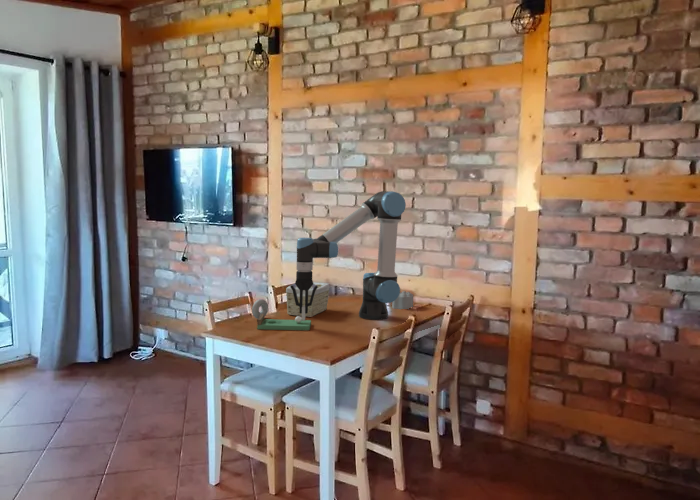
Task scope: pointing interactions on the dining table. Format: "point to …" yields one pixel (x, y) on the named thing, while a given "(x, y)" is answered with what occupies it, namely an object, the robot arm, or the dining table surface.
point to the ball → (298, 319)
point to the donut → (256, 308)
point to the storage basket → (317, 304)
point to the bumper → (260, 319)
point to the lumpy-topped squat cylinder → (403, 301)
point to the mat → (284, 325)
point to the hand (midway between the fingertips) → (303, 320)
